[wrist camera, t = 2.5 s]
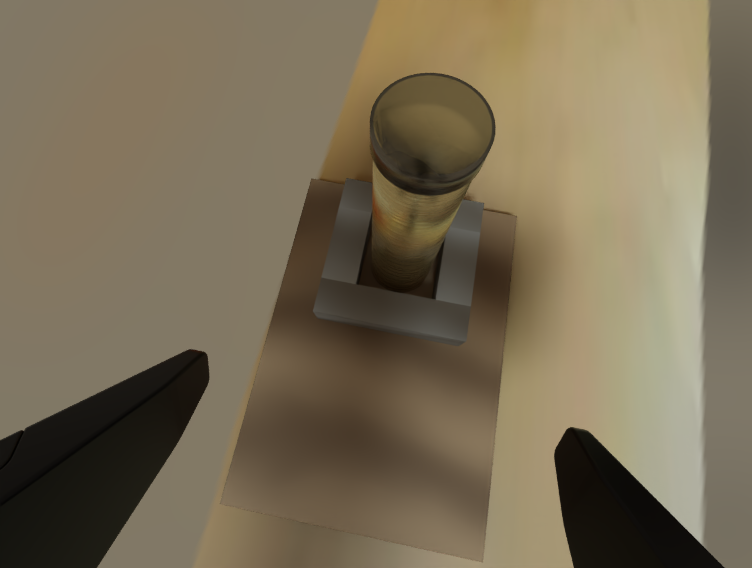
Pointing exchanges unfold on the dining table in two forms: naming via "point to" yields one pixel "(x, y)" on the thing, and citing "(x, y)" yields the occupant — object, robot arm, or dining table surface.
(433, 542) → the walnut eye plate
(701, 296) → the dining table surface
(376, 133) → the tan cylinder
